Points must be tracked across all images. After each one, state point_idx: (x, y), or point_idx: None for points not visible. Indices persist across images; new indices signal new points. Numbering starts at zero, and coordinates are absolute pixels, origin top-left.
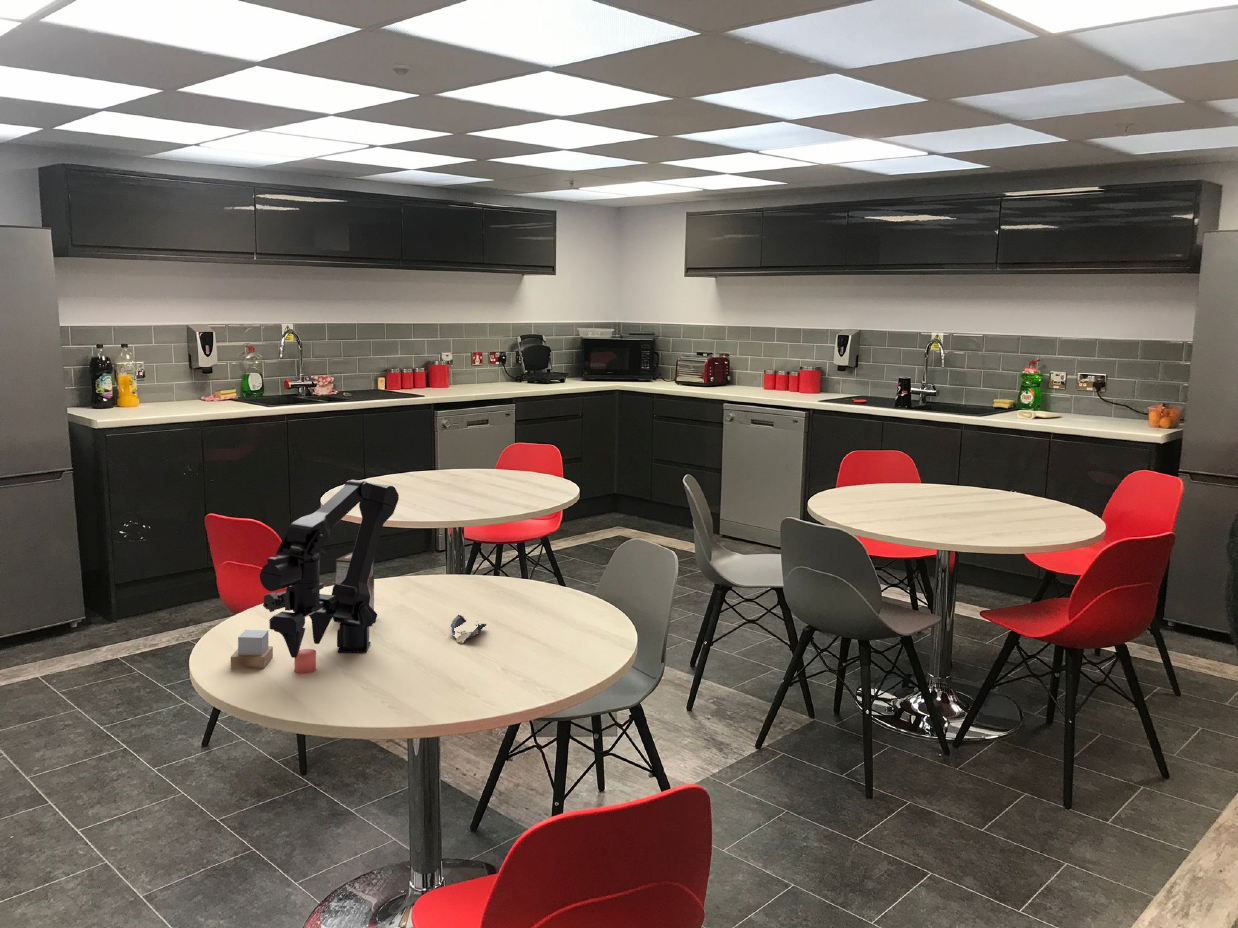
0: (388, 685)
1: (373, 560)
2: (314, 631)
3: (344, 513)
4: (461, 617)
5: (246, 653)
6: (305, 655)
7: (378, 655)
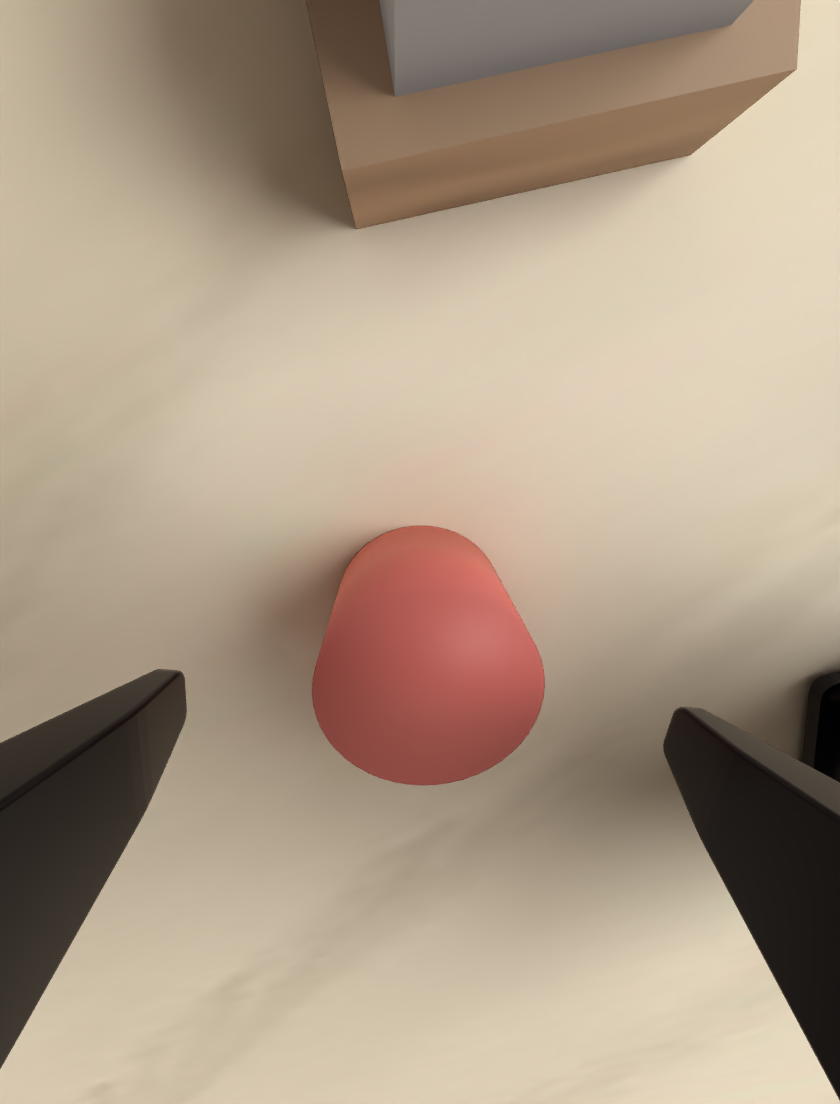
0: (302, 1052)
1: None
2: (808, 836)
3: None
4: None
5: None
6: (335, 733)
7: None
